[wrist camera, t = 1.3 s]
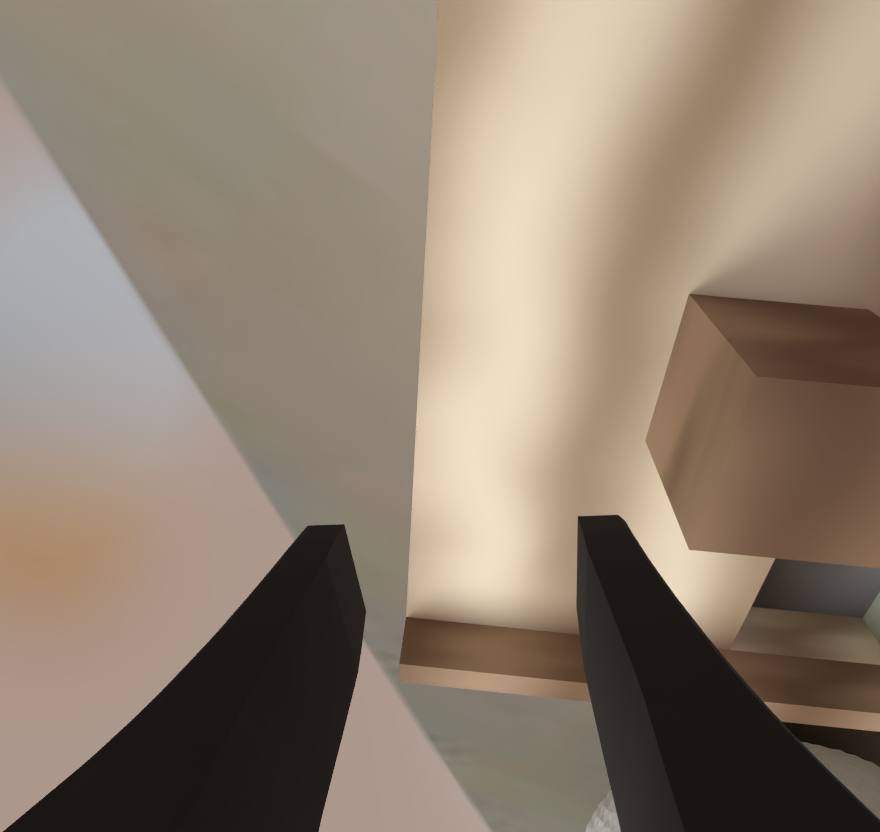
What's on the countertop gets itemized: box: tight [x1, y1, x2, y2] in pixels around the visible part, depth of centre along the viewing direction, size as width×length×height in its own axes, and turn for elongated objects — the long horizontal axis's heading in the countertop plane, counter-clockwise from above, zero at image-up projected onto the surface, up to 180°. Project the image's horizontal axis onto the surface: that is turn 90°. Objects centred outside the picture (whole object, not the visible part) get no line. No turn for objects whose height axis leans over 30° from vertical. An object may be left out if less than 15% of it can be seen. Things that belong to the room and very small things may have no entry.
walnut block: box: [645, 294, 880, 568], centre depth 14 cm, size 4×4×4 cm
